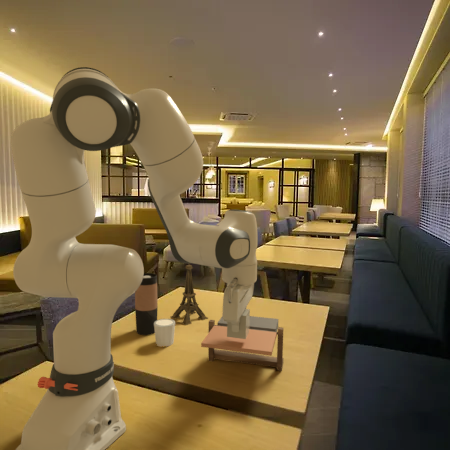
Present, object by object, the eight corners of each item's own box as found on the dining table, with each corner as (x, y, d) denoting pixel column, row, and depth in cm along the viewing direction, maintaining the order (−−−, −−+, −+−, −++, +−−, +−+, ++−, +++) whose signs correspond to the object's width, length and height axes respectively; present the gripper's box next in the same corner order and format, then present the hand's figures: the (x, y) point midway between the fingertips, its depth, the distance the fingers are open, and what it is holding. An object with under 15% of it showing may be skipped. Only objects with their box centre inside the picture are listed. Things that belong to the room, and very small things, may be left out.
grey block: (245, 339, 87) (246, 315, 87) (227, 336, 88) (227, 313, 88) (249, 331, 92) (249, 309, 91) (231, 329, 93) (231, 307, 92)
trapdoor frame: (281, 371, 97) (283, 329, 96) (208, 360, 103) (208, 321, 101) (283, 362, 102) (284, 323, 101) (212, 353, 107) (213, 315, 106)
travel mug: (155, 325, 129) (155, 272, 126) (159, 333, 121) (159, 277, 119) (134, 328, 126) (133, 273, 124) (137, 336, 119) (136, 279, 117)
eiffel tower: (170, 317, 137) (169, 254, 134) (192, 311, 144) (192, 251, 141) (185, 325, 129) (185, 259, 127) (208, 318, 136) (208, 255, 133)
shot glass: (171, 348, 110) (170, 327, 110) (150, 346, 112) (150, 325, 111) (178, 339, 117) (178, 319, 116) (158, 337, 118) (158, 317, 118)
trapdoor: (271, 360, 85) (271, 351, 85) (201, 351, 90) (201, 342, 90) (279, 326, 106) (280, 319, 106) (222, 320, 111) (222, 313, 110)
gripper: (243, 285, 78) (242, 345, 79) (258, 265, 97) (257, 313, 99) (216, 283, 79) (215, 341, 81) (236, 264, 99) (235, 311, 100)
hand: (238, 326), depth 90 cm, fingers closed on grey block, 5 cm apart
